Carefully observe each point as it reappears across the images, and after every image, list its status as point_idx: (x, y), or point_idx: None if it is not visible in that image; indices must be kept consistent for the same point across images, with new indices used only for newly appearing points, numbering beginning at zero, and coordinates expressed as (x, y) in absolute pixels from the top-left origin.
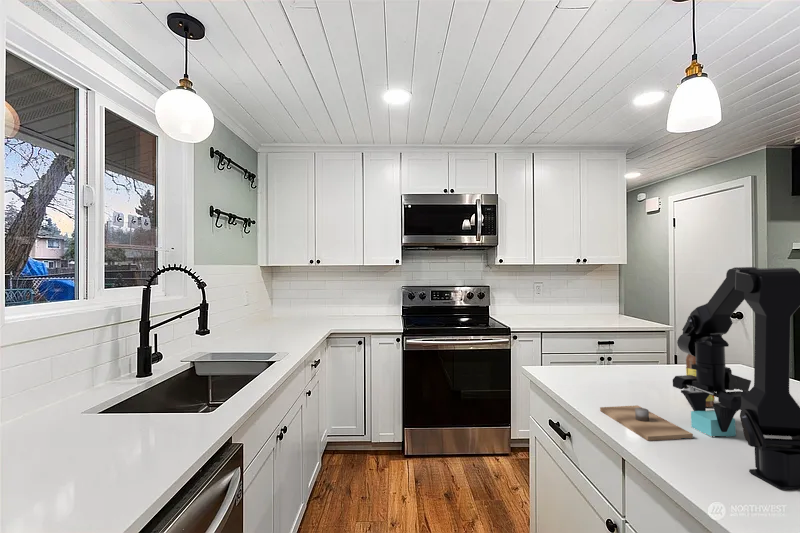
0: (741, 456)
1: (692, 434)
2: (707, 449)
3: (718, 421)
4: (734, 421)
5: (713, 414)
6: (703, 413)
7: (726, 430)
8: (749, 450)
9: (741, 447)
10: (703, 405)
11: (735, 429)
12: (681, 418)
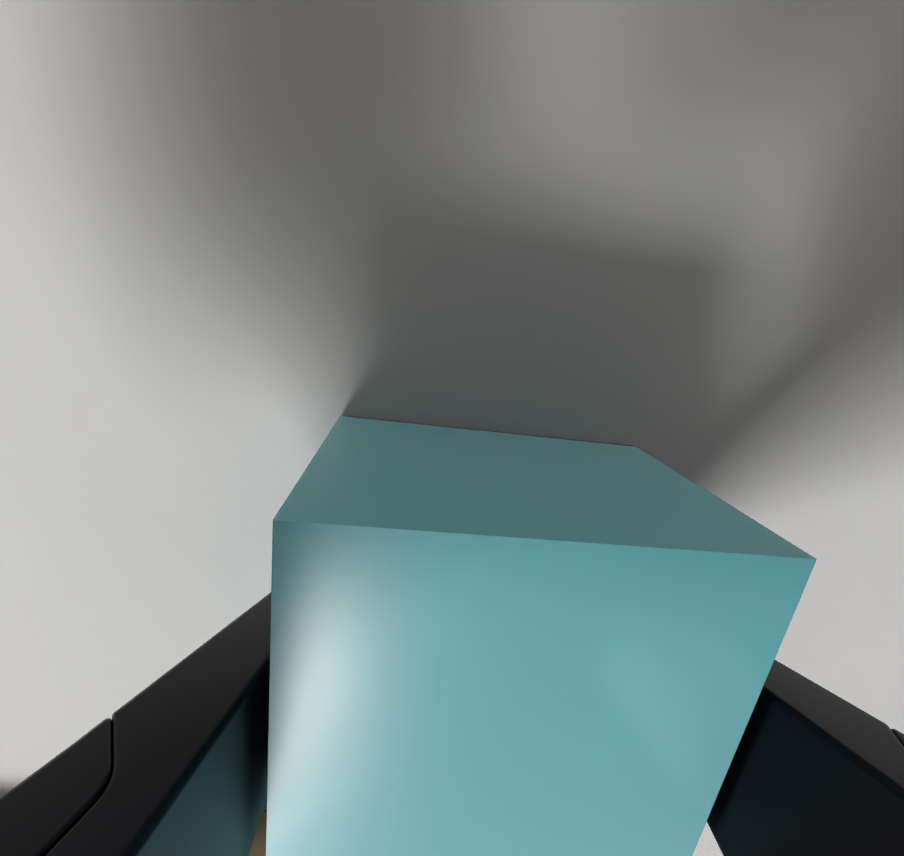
0: None
1: None
2: (711, 835)
3: (713, 807)
4: (765, 541)
5: (504, 721)
6: (407, 820)
7: None
8: (863, 606)
9: (805, 615)
10: (181, 836)
11: (684, 479)
12: (25, 578)
